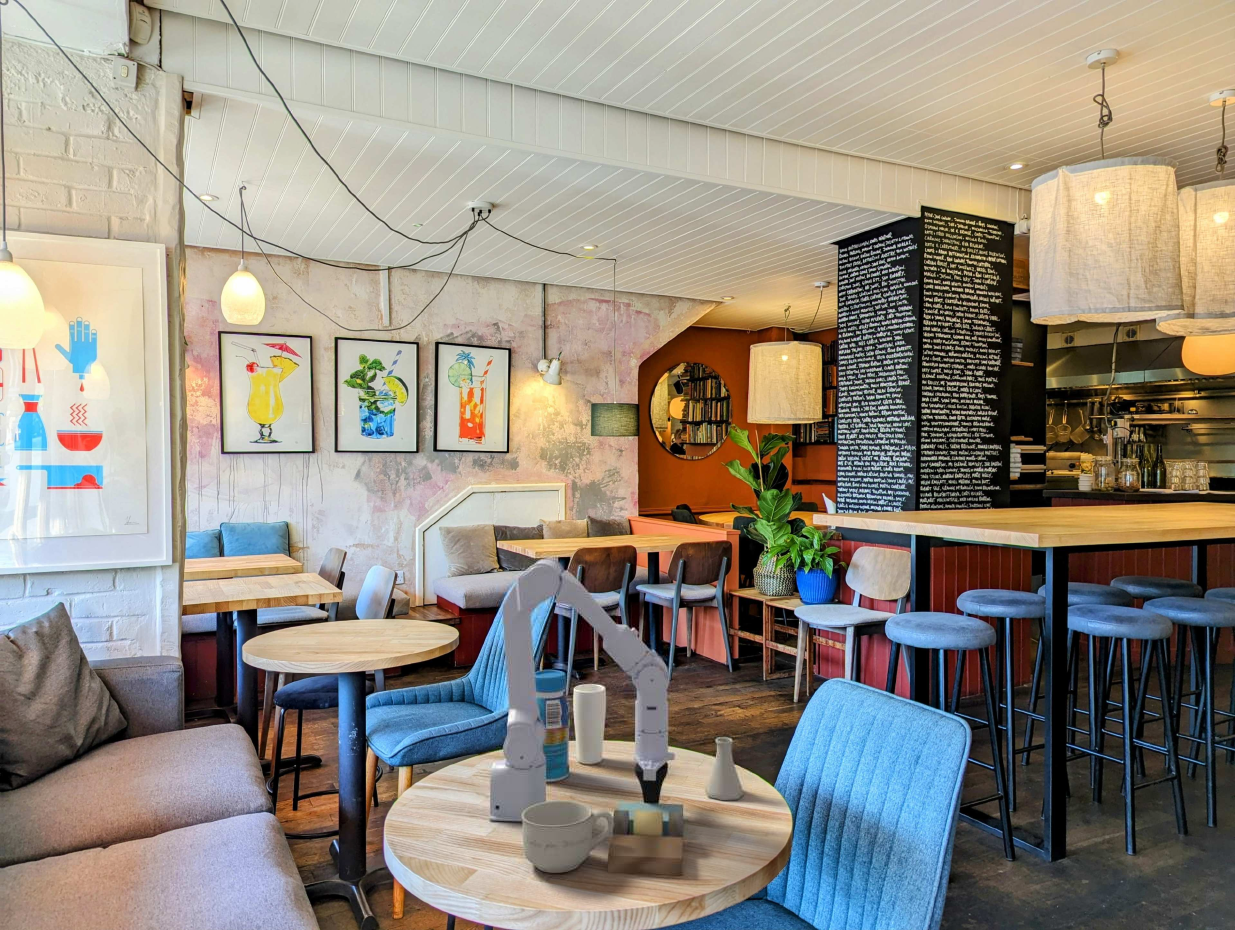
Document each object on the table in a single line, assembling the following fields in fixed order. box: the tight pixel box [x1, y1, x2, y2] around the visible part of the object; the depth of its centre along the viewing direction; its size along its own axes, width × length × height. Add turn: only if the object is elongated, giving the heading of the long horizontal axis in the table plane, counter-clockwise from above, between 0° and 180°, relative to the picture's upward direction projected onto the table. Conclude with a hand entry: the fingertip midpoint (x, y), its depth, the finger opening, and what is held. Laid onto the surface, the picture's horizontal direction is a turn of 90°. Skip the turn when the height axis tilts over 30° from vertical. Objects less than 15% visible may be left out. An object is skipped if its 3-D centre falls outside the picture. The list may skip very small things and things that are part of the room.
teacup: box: [522, 800, 614, 874], centre depth 123 cm, size 14×11×8 cm
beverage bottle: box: [535, 669, 571, 783], centre depth 160 cm, size 8×8×20 cm
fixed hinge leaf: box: [607, 809, 684, 876], centre depth 126 cm, size 11×12×5 cm
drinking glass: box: [572, 683, 607, 765], centre depth 168 cm, size 7×7×15 cm
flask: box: [704, 736, 745, 801], centre depth 151 cm, size 7×7×10 cm
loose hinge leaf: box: [617, 801, 684, 837], centre depth 134 cm, size 11×12×5 cm
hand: (651, 807), depth 141 cm, fingers closed
